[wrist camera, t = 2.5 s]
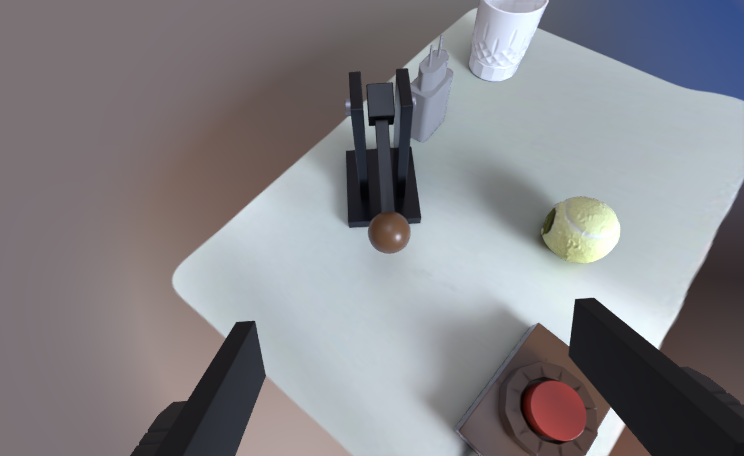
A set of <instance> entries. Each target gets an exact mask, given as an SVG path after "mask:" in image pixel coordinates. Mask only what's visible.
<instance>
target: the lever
mask: <svg viewBox="0 0 744 456" xmlns="http://www.w3.org/2000/svg"><path fill="white" fill-rule="evenodd" d="M366 87H367V105H368V120H369V126H375V129H376V144H377V158H378V173H379V188H380V202H381V213H380V214H378V215H377V216H375V217H374V218H373V220H372V221H371V223H370V225H369V228H368V237H369V240H370V242H371V244H372V245H373V247H374V248H375V249H377V250H378V251H380V252H382V253H387V254H391V253H396V252H398V251H400V250H402V249H403V248H404V247H405V246H406V245H407V243H408V241H409V239H410V226H409V224H408V222H407V220H406V219H405V218H404V217H403V216H402V215H400V214H399V213H396V212H395V211H394V197H393V182H392V168H391V153H390V139H389V125H393V123H394V118H395V107H394V93H393V83H392V82H391V83H377V84H367V85H366Z"/></svg>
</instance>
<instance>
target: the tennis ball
mask: <svg viewBox="0 0 744 456" xmlns="http://www.w3.org/2000/svg"><path fill="white" fill-rule="evenodd" d="M541 235H543V236H542V237H543V238H544V241H545V243H546V244H547V246H548V247H549V248H550V249H551V250H552V251H553V252H554V253H555V254H556V255H557V256H559V257H560V258H561V259H564V260H565V261H571V262H574V263H587V262H592V261H595V260H598V259H600V258H602V257H604V256H605V255H607V254H608V253H609V252H610V251H611V250H612V249H613V247H614V246H615V245H616V244H617V242H618V239H619V235H620V225H619V221H618V220H617V217H616V214H615V213H614V211H613V210H612V209H611V208H610V207H608V206H607V205H606V204H605V203H603V202H600V201H599V200H597V199H592V198H588V197H582V196H580V197H573V198H569V199H566V200H565V201H563V202H559V203H557V204H556V205H554V207H553V208H552V209H551V211H550V213H549V214H548V216H547V217H546V220H545V222H544V226H543V228H542V230H541Z"/></svg>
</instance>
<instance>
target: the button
mask: <svg viewBox="0 0 744 456" xmlns="http://www.w3.org/2000/svg"><path fill="white" fill-rule="evenodd" d="M523 410H524V414H525V417H526V419H527V421H528V422H529V424H530V425H531V427H532V428H533V429H534V430H535V431H536V432H538V433H539V434H540V435H542V436H544V437H547V438H551V439H556V440H561V441H568V440H572V439H575V438H576V437H578V436H579V435H580V434H581V433H582V431H583V430H584V428H585V425H586V410H585V407H584V404H583V402H582V400H581V398H580V397H579V395H578V394H577V393H576V392H575V391H574V390H573V389H572V388H571V387H569V386H568V385H566V384H564V383H562V382H559V381H544V382H539V383H536V384H534V385H532V386H531V387H530V388H529V389H528V390H527V391H526V393H525V395H524V399H523Z"/></svg>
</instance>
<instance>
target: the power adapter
mask: <svg viewBox="0 0 744 456" xmlns="http://www.w3.org/2000/svg"><path fill="white" fill-rule="evenodd" d="M442 41H443V35H441V37H440V44H439V49H438V50H434V51H433V45H431V48H430V54H429V55H428V56H427V57H426V58H425V59H424V60H423V61H422V62H421V63H420V65H419V73H418V77H417V78H416V79H415V80H414V81H413V82H412V83H411V84H410V86H411V93H412V94H415V96H416V111H413V117H412V127H411V137H412V138H414V139H416V140H418V141H420V142H424V141H426V140H427V139H428V138H429V137H430V136H431V134H432V133H433V132H434V131H435V130H436V129H437V128H438V126H439V125H440V124H441V123H442V122H443V120H444V116H445V111H446V107H447V102H448V97H449V92H450V87H451V82H452V78H453V71H452V70H451V69H449V68H447V64H448V59H449V56H448V54H447V51H446V50H441V48H442Z"/></svg>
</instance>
